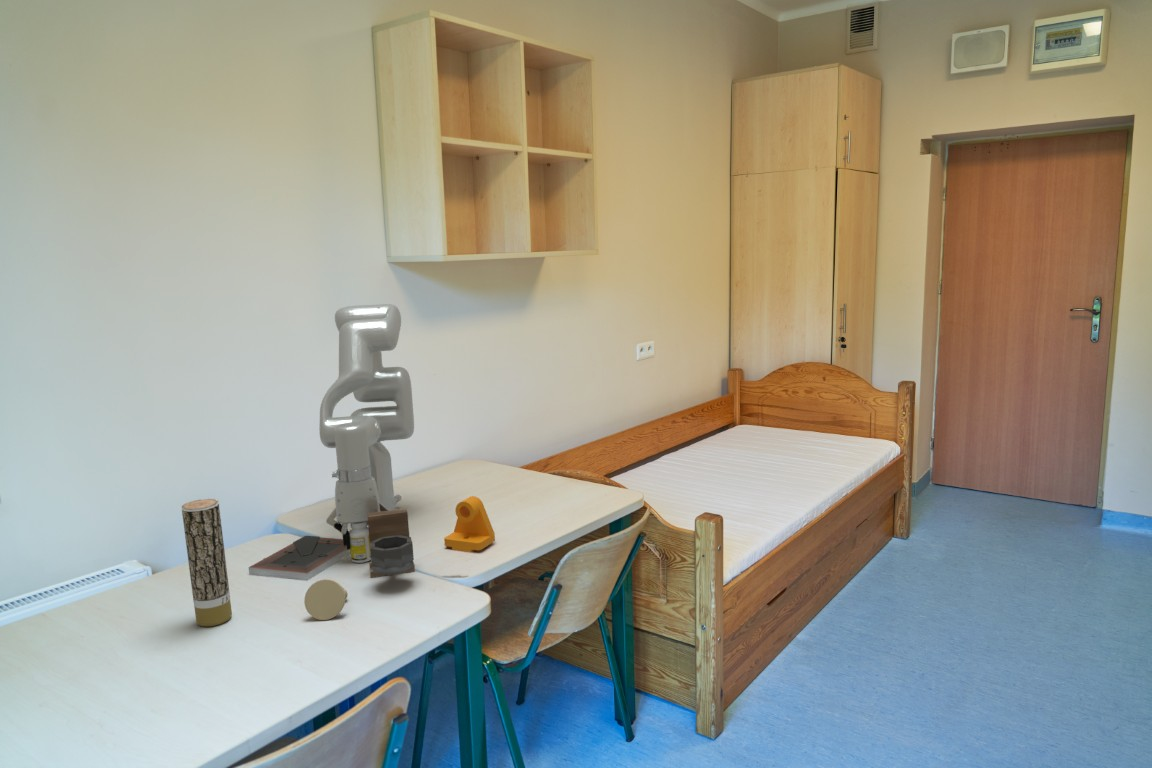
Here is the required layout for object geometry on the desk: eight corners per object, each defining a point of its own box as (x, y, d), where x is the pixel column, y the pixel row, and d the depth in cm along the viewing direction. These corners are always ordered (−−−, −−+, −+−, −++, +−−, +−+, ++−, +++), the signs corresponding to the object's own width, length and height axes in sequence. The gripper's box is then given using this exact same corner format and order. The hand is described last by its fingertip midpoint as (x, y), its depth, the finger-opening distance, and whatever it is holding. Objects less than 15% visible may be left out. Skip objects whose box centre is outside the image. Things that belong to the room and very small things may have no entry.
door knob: (314, 577, 173) (352, 574, 174) (315, 615, 172) (353, 612, 173) (303, 581, 164) (343, 578, 164) (304, 621, 162) (345, 618, 163)
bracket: (443, 549, 200) (439, 502, 199) (459, 539, 207) (455, 494, 205) (480, 553, 196) (477, 506, 194) (495, 543, 203) (492, 498, 201)
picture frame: (306, 544, 210) (249, 576, 190) (305, 535, 209) (248, 566, 189) (361, 549, 205) (308, 582, 184) (360, 539, 204) (307, 572, 184)
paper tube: (197, 631, 161) (181, 511, 157) (195, 618, 167) (180, 502, 163) (233, 622, 164) (219, 505, 160) (231, 610, 170) (217, 496, 166)
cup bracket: (369, 568, 190) (364, 511, 187) (412, 562, 192) (408, 506, 190) (372, 596, 173) (366, 535, 171) (419, 589, 176) (414, 528, 174)
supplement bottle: (366, 553, 199) (363, 515, 198) (378, 558, 195) (374, 520, 194) (347, 559, 196) (343, 521, 194) (358, 565, 192) (354, 526, 190)
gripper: (316, 482, 186) (324, 556, 189) (392, 474, 191) (398, 546, 194) (317, 474, 193) (325, 545, 196) (390, 466, 198) (396, 536, 201)
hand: (361, 545), depth 195 cm, fingers closed on supplement bottle, 5 cm apart
